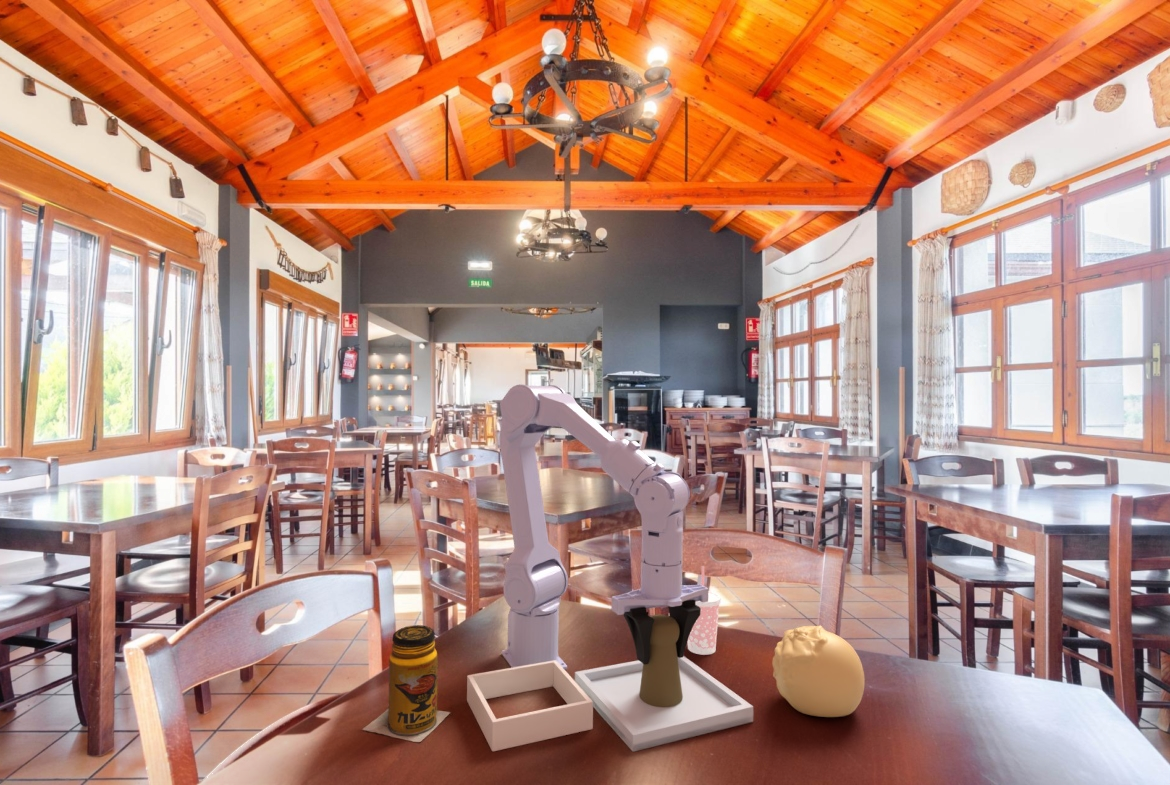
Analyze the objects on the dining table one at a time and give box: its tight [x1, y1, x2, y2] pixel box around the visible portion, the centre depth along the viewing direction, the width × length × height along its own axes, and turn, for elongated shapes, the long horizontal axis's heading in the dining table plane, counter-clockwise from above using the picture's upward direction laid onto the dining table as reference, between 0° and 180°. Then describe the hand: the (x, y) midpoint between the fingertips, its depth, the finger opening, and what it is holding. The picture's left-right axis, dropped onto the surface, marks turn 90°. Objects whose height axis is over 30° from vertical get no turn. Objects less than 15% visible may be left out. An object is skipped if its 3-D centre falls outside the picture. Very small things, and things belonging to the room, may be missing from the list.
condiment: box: [362, 624, 451, 743], centre depth 81 cm, size 7×8×12 cm
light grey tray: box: [574, 655, 754, 752], centre depth 87 cm, size 18×18×2 cm
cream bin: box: [466, 660, 594, 753], centre depth 83 cm, size 13×13×4 cm
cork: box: [639, 614, 683, 707], centre depth 87 cm, size 6×6×11 cm
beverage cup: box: [687, 565, 722, 656], centre depth 105 cm, size 6×6×14 cm
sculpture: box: [772, 625, 866, 718], centre depth 87 cm, size 12×12×11 cm
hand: (660, 658), depth 87 cm, fingers closed on cork, 5 cm apart
